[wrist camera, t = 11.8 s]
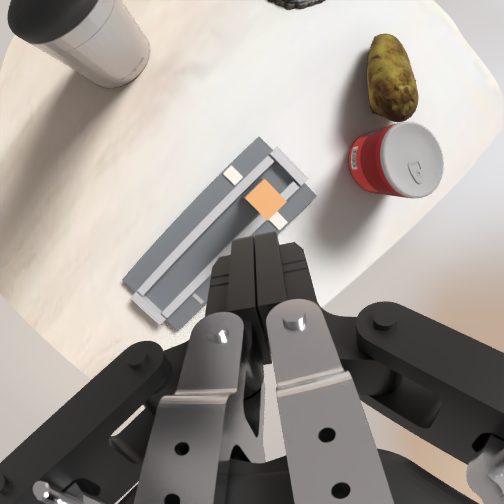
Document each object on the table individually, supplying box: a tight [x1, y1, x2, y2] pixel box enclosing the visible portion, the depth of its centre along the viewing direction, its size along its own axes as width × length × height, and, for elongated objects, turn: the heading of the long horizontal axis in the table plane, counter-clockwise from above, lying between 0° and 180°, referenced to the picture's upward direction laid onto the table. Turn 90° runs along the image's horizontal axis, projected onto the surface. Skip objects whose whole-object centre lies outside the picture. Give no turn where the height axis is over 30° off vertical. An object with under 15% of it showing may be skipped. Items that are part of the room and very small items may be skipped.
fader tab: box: [242, 178, 287, 221], centre depth 33 cm, size 3×3×10 cm
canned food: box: [349, 122, 444, 198], centre depth 34 cm, size 8×8×11 cm
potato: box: [367, 34, 418, 122], centre depth 33 cm, size 8×13×8 cm, turn 152°
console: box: [122, 137, 316, 331], centre depth 39 cm, size 10×26×2 cm, turn 135°
